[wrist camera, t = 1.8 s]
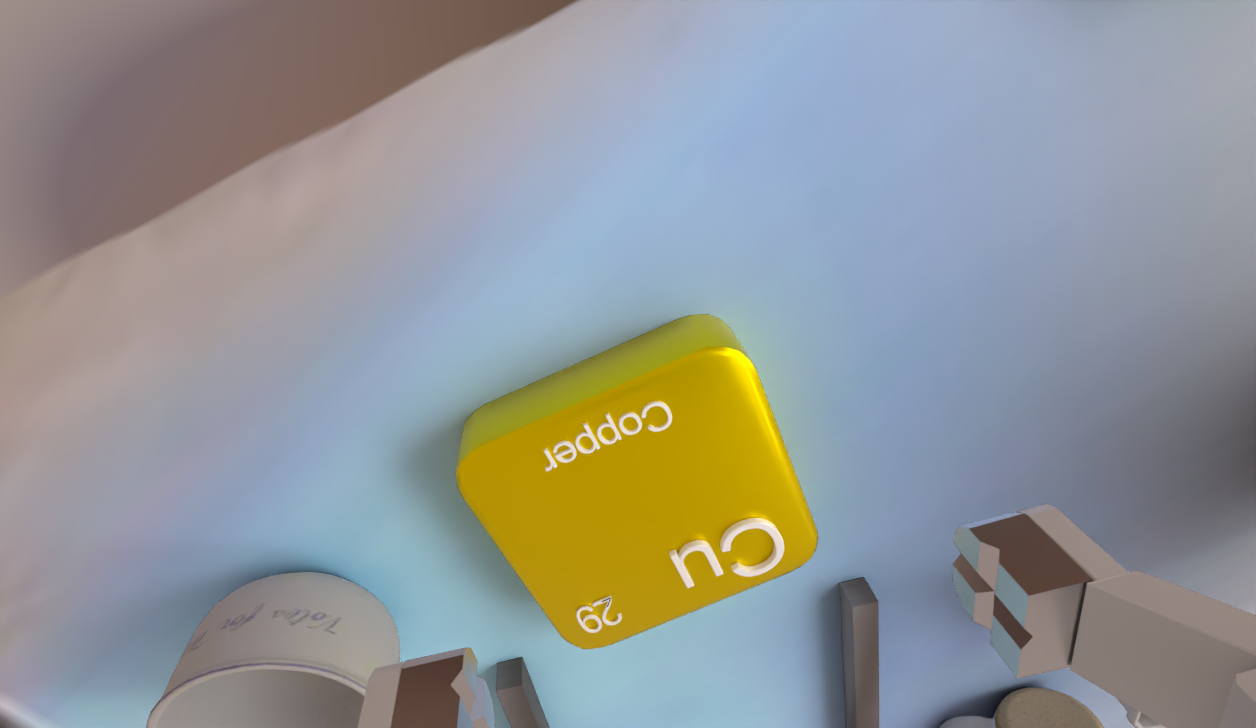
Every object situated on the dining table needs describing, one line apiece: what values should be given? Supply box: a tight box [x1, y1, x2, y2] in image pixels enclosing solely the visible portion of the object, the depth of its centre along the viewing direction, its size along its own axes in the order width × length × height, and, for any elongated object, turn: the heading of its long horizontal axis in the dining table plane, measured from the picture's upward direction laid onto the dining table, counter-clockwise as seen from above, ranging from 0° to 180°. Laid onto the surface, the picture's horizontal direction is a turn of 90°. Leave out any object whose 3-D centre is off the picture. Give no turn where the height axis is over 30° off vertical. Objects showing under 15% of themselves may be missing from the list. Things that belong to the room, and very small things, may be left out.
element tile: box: [456, 314, 818, 649], centre depth 35 cm, size 15×15×5 cm
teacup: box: [146, 572, 400, 728], centre depth 35 cm, size 14×11×8 cm
